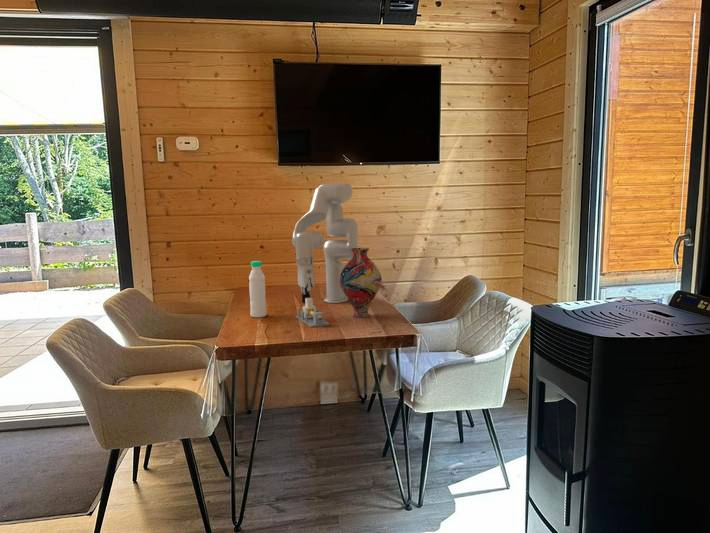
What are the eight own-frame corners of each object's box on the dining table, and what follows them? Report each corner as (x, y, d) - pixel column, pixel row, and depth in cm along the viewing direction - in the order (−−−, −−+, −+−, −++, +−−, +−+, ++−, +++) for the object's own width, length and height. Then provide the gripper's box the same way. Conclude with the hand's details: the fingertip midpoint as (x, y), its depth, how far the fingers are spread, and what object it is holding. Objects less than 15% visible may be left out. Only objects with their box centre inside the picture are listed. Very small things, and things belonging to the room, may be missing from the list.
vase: (344, 321, 204) (342, 251, 200) (336, 312, 223) (335, 247, 219) (387, 318, 208) (386, 249, 204) (376, 309, 226) (375, 246, 222)
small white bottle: (302, 316, 210) (302, 298, 209) (312, 315, 212) (312, 297, 211) (306, 318, 206) (305, 299, 205) (316, 317, 208) (315, 298, 207)
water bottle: (269, 315, 219) (267, 260, 216) (259, 318, 213) (256, 262, 210) (257, 313, 223) (255, 260, 219) (247, 316, 217) (244, 261, 213)
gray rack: (295, 317, 214) (295, 305, 213) (312, 315, 217) (312, 304, 216) (311, 327, 196) (310, 314, 195) (329, 325, 199) (329, 312, 199)
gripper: (319, 262, 204) (320, 305, 206) (307, 259, 218) (308, 299, 220) (302, 263, 201) (303, 306, 203) (291, 260, 214) (292, 300, 217)
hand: (306, 302), depth 212 cm, fingers closed
